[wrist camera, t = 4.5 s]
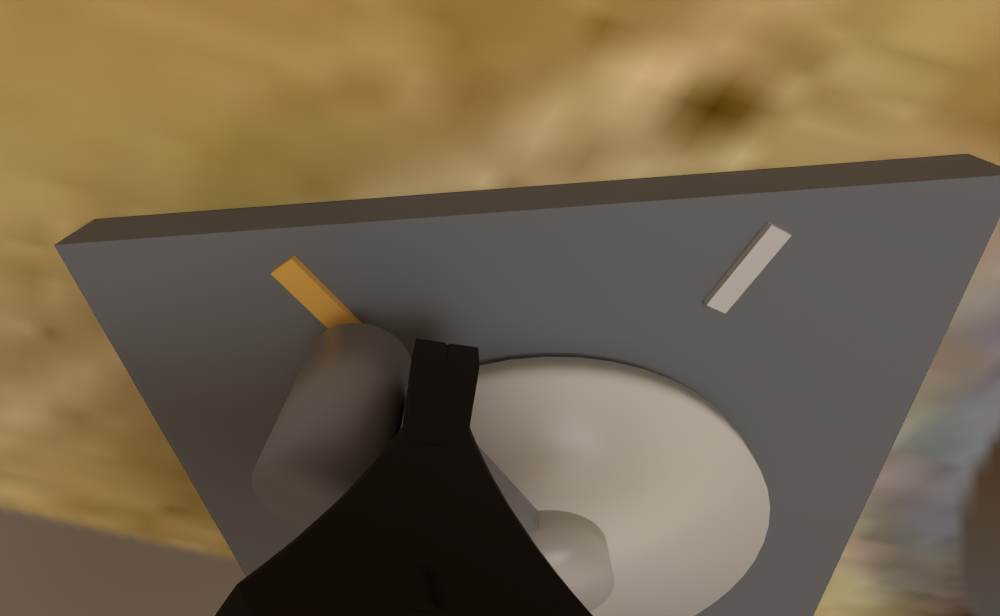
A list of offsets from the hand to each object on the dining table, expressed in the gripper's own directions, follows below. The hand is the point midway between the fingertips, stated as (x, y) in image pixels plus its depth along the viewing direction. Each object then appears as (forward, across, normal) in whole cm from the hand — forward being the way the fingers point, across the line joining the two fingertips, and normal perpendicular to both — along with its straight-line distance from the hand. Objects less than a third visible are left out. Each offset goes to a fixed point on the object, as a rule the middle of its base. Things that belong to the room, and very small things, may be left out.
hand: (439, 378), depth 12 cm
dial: (+2, -3, +6) cm, 7 cm away
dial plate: (+4, -4, +7) cm, 9 cm away
